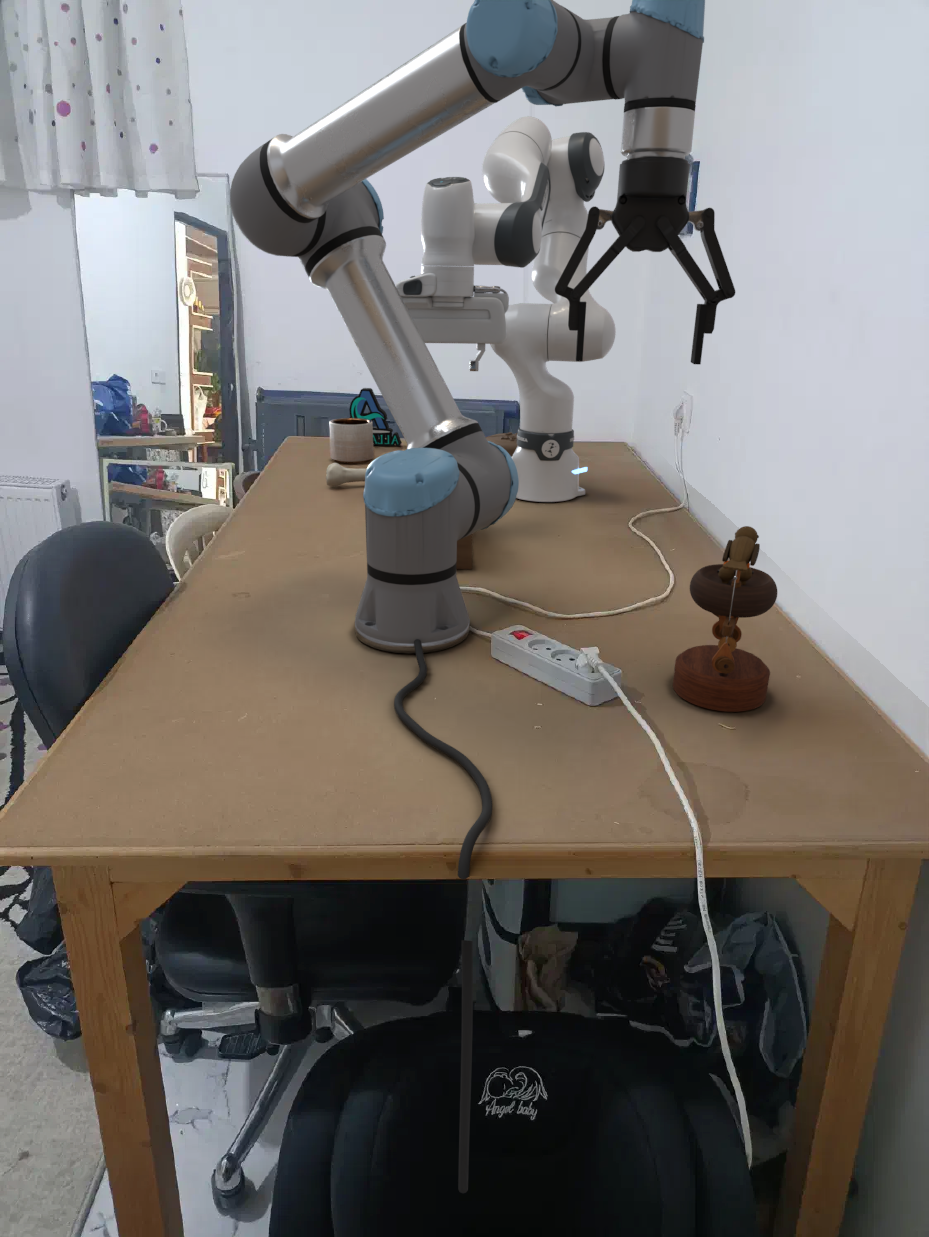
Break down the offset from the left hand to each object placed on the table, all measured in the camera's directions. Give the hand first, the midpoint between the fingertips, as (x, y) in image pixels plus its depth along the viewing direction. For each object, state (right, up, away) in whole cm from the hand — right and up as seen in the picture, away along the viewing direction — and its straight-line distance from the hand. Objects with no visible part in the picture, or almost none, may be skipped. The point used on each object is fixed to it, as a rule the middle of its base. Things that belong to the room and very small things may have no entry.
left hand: (636, 362), depth 100 cm
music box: (+9, -39, -1) cm, 40 cm away
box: (-23, -17, +49) cm, 57 cm away
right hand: (-23, +13, +47) cm, 54 cm away
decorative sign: (-47, +18, +133) cm, 142 cm away
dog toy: (-41, -1, +89) cm, 98 cm away
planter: (-49, +10, +114) cm, 125 cm away
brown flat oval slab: (-5, +12, +122) cm, 123 cm away
